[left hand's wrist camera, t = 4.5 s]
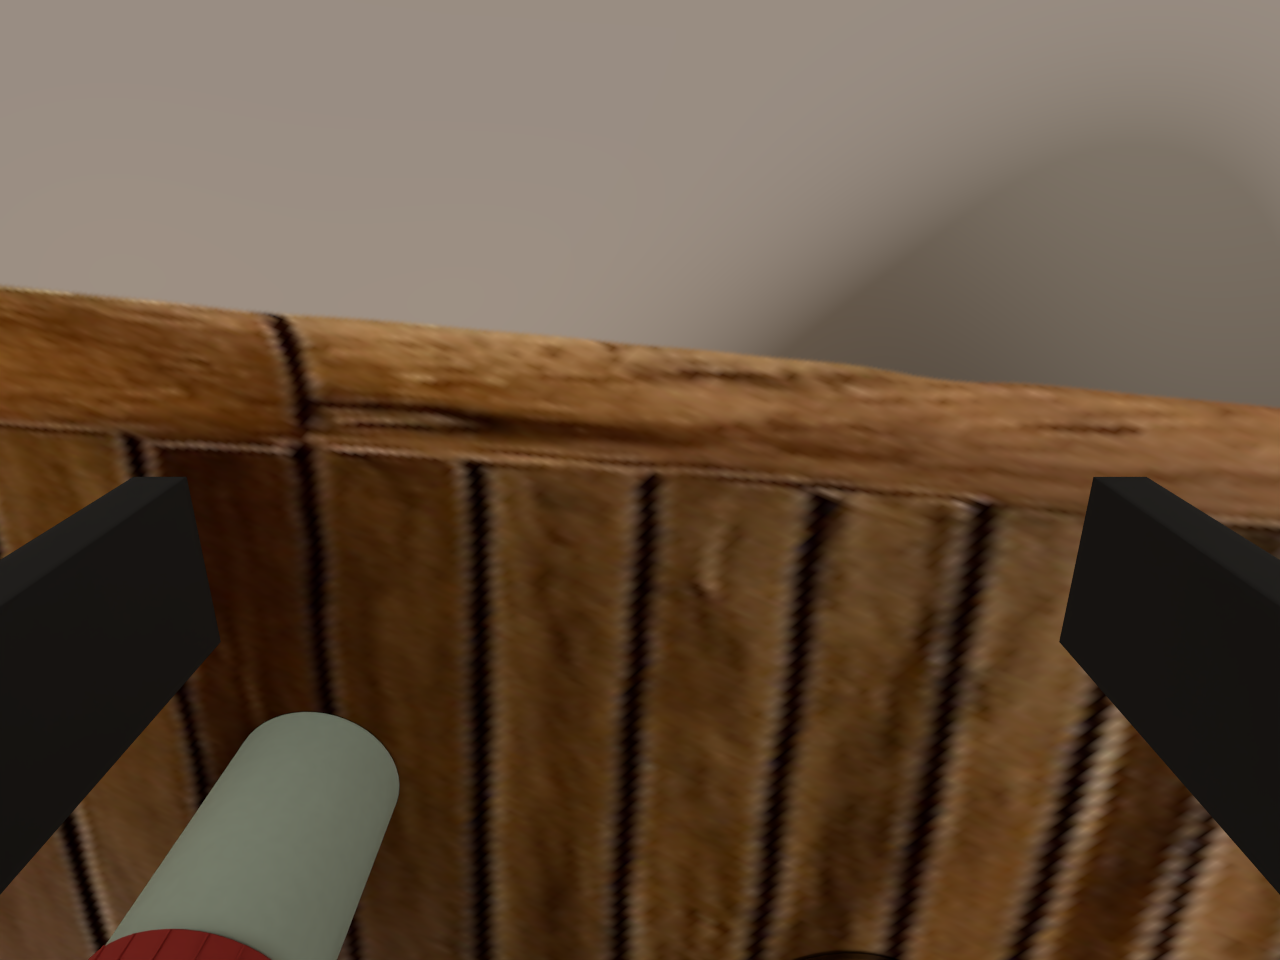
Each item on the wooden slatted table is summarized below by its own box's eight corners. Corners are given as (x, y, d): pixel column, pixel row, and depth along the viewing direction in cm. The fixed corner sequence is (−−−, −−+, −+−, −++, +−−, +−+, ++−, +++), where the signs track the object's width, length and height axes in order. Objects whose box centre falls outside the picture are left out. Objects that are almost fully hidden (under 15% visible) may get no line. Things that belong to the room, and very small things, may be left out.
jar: (408, 728, 47) (302, 987, 32) (390, 852, 50) (285, 1141, 36) (241, 697, 46) (54, 949, 32) (233, 826, 50) (60, 1109, 35)
